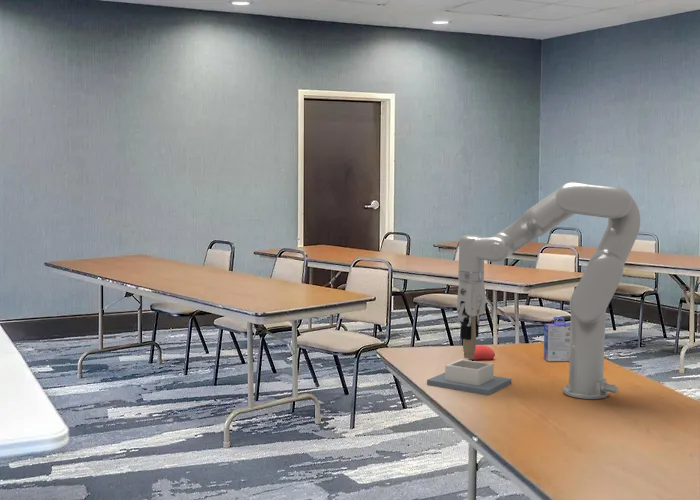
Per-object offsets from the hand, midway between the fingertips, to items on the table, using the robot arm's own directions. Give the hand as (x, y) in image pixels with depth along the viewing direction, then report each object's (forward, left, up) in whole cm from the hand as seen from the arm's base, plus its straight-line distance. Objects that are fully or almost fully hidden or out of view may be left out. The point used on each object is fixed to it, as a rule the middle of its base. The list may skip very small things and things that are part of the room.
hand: (469, 337), depth 244 cm
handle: (0, 0, -6) cm, 6 cm away
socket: (0, 0, -14) cm, 14 cm away
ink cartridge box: (-10, -47, -15) cm, 50 cm away
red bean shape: (+12, -32, -15) cm, 37 cm away
